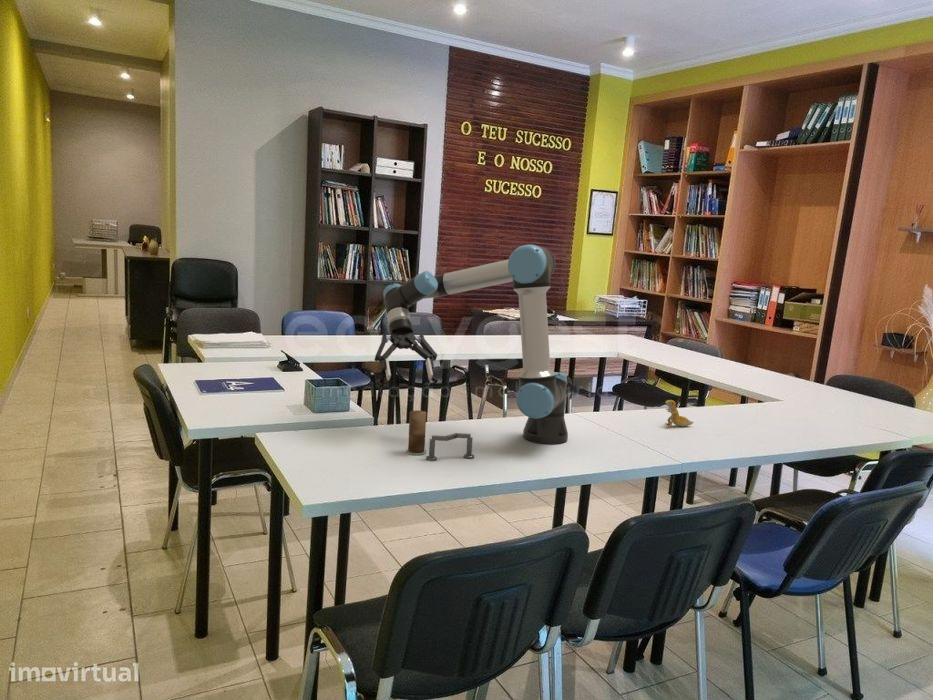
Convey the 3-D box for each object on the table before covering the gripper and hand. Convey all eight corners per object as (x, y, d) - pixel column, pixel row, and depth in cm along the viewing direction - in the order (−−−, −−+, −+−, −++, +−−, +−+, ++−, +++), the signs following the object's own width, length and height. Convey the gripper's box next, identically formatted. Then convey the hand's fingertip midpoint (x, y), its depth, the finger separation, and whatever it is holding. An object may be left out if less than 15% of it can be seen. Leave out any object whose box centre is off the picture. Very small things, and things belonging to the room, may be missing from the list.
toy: (650, 416, 256) (664, 394, 253) (680, 429, 261) (694, 408, 259) (658, 424, 250) (672, 402, 247) (689, 437, 255) (703, 415, 253)
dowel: (427, 450, 204) (429, 412, 203) (418, 454, 200) (420, 415, 199) (414, 447, 207) (415, 409, 205) (404, 451, 203) (406, 412, 201)
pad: (426, 450, 207) (426, 448, 206) (425, 455, 201) (425, 454, 201) (407, 448, 207) (407, 447, 206) (405, 454, 201) (405, 453, 201)
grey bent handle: (470, 454, 204) (471, 431, 203) (475, 458, 201) (477, 435, 200) (424, 457, 198) (425, 434, 197) (429, 461, 195) (430, 438, 194)
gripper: (433, 331, 229) (445, 383, 217) (360, 331, 220) (368, 385, 208) (438, 317, 223) (451, 370, 211) (364, 316, 215) (372, 371, 203)
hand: (410, 377), depth 210 cm, fingers open, 13 cm apart
